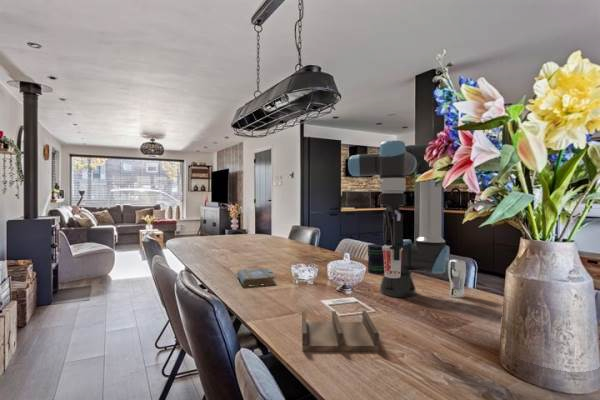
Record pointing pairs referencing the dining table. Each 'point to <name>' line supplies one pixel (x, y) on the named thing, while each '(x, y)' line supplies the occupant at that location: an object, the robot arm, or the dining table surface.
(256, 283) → the book
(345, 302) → the photo frame
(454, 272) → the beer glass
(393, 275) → the beverage cup
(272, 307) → the dining table surface
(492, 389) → the dining table surface
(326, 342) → the divided wooden tray
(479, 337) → the dining table surface
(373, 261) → the storage jar
